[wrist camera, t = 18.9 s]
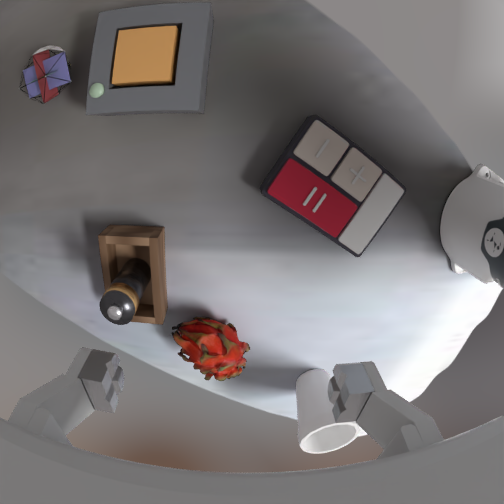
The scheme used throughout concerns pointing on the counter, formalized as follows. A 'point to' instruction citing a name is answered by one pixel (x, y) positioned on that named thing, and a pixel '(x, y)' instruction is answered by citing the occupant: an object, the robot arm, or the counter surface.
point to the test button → (146, 56)
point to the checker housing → (152, 96)
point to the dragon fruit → (211, 347)
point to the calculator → (333, 186)
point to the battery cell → (126, 292)
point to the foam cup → (319, 415)
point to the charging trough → (146, 248)
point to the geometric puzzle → (46, 74)
